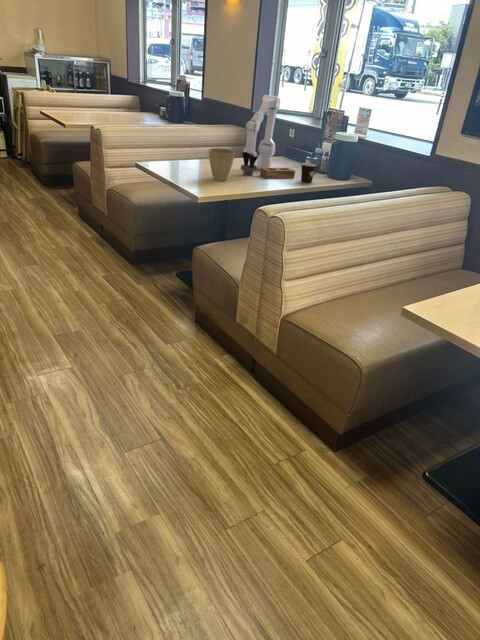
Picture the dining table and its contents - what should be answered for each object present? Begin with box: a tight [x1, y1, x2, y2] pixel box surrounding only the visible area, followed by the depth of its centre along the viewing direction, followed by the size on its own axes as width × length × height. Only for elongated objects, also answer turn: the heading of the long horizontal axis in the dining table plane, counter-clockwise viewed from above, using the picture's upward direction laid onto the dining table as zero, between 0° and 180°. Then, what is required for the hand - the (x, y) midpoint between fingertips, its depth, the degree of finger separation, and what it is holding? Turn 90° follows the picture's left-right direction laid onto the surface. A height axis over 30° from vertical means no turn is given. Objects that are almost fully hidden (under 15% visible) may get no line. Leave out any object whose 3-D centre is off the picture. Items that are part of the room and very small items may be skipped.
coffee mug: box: [300, 162, 319, 184], centre depth 286 cm, size 12×9×10 cm
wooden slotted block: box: [259, 167, 296, 179], centre depth 291 cm, size 8×20×4 cm, turn 115°
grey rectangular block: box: [240, 164, 257, 177], centre depth 287 cm, size 3×9×6 cm, turn 115°
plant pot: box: [208, 147, 236, 182], centre depth 268 cm, size 15×15×16 cm
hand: (248, 166), depth 286 cm, fingers open, 7 cm apart
